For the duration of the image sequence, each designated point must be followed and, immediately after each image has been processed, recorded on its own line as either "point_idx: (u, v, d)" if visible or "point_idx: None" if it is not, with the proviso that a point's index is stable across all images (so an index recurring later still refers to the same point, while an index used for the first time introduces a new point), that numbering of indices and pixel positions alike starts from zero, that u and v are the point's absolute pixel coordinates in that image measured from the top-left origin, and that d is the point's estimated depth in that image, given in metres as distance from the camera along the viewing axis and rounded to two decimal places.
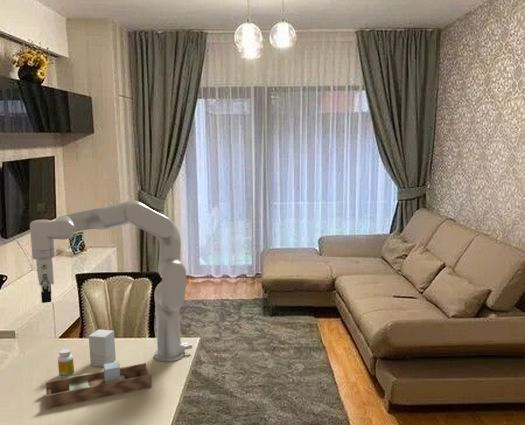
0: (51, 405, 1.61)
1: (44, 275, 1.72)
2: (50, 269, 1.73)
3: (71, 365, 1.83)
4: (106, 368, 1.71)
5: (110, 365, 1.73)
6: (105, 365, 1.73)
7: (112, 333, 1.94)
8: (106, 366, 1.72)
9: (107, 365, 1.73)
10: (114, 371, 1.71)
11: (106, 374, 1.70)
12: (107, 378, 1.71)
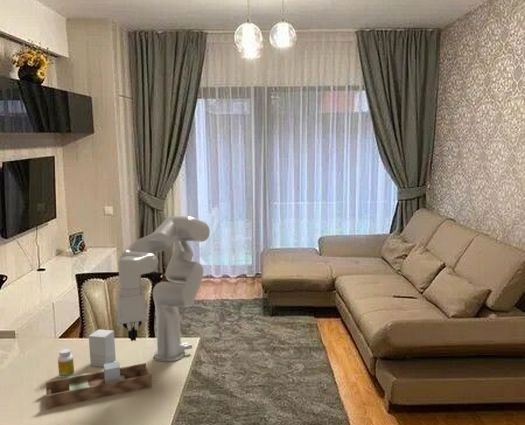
0: (51, 405, 1.61)
1: None
2: None
3: (71, 365, 1.83)
4: (106, 368, 1.71)
5: (110, 365, 1.73)
6: (105, 365, 1.73)
7: (112, 333, 1.94)
8: (106, 366, 1.72)
9: (107, 365, 1.73)
10: (114, 371, 1.71)
11: (106, 374, 1.70)
12: (107, 378, 1.71)
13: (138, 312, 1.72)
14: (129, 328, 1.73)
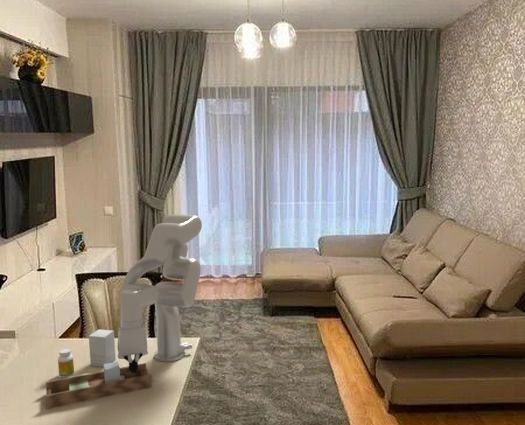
0: (51, 405, 1.61)
1: None
2: None
3: (71, 365, 1.83)
4: (106, 368, 1.71)
5: (110, 365, 1.73)
6: (105, 365, 1.73)
7: (112, 333, 1.94)
8: (106, 366, 1.72)
9: (107, 365, 1.73)
10: (114, 371, 1.71)
11: (106, 374, 1.70)
12: (107, 378, 1.71)
13: (139, 344, 1.74)
14: (130, 360, 1.74)
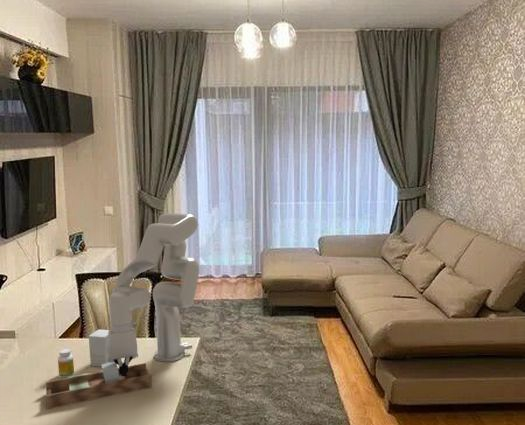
0: (51, 405, 1.61)
1: None
2: None
3: (71, 365, 1.83)
4: (104, 369, 1.71)
5: (107, 365, 1.73)
6: (103, 365, 1.73)
7: None
8: (104, 367, 1.72)
9: (105, 365, 1.73)
10: (113, 371, 1.71)
11: (104, 374, 1.70)
12: (106, 378, 1.70)
13: (129, 348, 1.72)
14: (120, 363, 1.73)
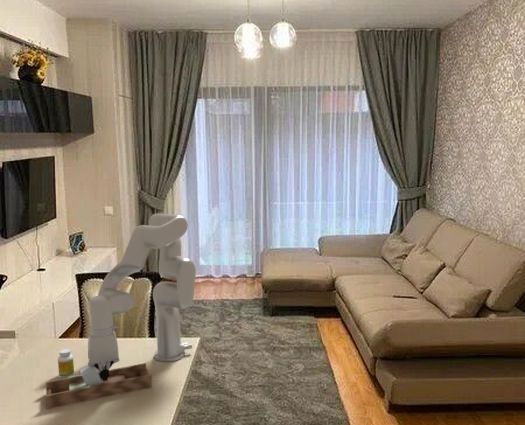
0: (51, 405, 1.61)
1: None
2: None
3: (71, 365, 1.83)
4: (83, 374, 1.67)
5: (86, 369, 1.69)
6: (81, 371, 1.69)
7: None
8: (83, 372, 1.68)
9: (83, 370, 1.69)
10: (92, 374, 1.68)
11: (85, 379, 1.67)
12: (87, 383, 1.67)
13: (110, 352, 1.70)
14: (101, 368, 1.70)
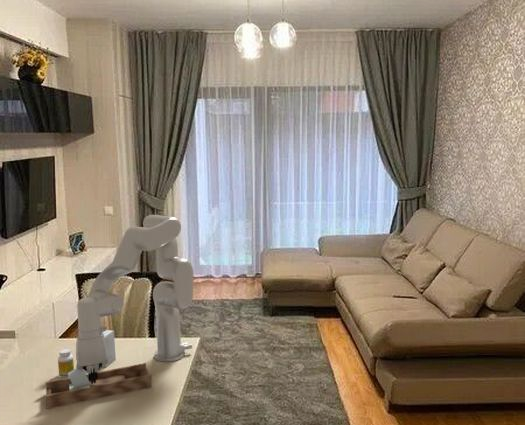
0: (51, 405, 1.61)
1: None
2: None
3: (71, 365, 1.83)
4: (71, 377, 1.65)
5: (74, 372, 1.68)
6: (69, 374, 1.67)
7: (112, 333, 1.94)
8: (70, 375, 1.66)
9: (71, 373, 1.68)
10: (80, 377, 1.66)
11: (73, 382, 1.65)
12: (75, 385, 1.65)
13: (98, 354, 1.68)
14: (89, 371, 1.69)
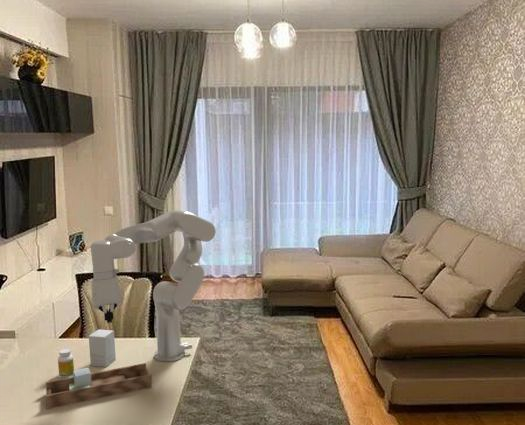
0: (51, 405, 1.61)
1: None
2: None
3: (71, 365, 1.83)
4: (76, 375, 1.66)
5: (80, 371, 1.69)
6: (75, 372, 1.68)
7: (112, 333, 1.94)
8: (76, 373, 1.67)
9: (77, 372, 1.69)
10: (85, 377, 1.67)
11: (77, 381, 1.66)
12: (78, 385, 1.66)
13: (113, 295, 1.76)
14: (105, 310, 1.76)
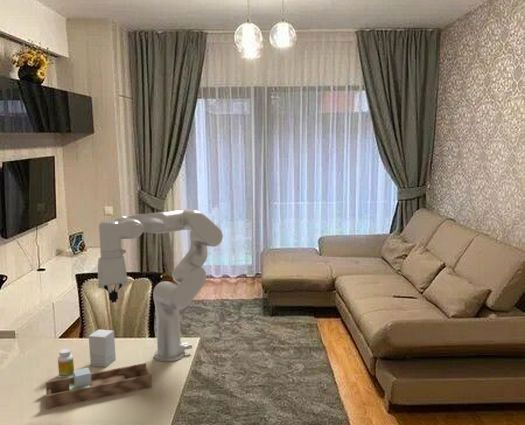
0: (51, 405, 1.61)
1: None
2: None
3: (71, 365, 1.83)
4: (76, 375, 1.66)
5: (80, 371, 1.69)
6: (75, 372, 1.68)
7: (112, 333, 1.94)
8: (76, 373, 1.67)
9: (77, 372, 1.69)
10: (85, 377, 1.67)
11: (77, 381, 1.66)
12: (78, 385, 1.66)
13: (118, 274, 1.78)
14: (110, 290, 1.78)
